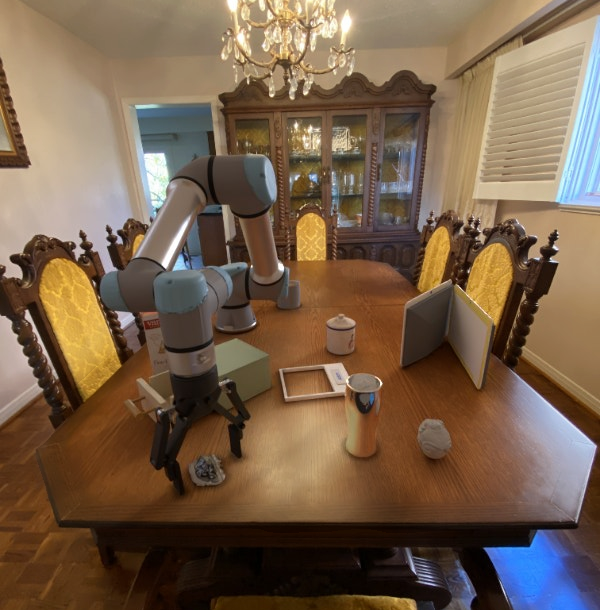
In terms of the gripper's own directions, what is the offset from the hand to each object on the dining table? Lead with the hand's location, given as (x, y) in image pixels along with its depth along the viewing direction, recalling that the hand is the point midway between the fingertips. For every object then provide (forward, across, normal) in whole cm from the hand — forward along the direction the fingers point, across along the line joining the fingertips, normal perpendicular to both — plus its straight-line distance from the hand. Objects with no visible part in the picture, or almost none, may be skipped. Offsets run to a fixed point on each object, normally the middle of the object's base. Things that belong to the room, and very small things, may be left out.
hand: (209, 471), depth 64 cm
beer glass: (0, +25, -16) cm, 30 cm away
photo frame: (0, +36, +7) cm, 37 cm away
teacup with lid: (0, +57, +16) cm, 59 cm away
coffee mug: (0, +72, +60) cm, 94 cm away
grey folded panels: (0, +70, -8) cm, 71 cm away
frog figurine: (0, +33, -27) cm, 42 cm away
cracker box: (0, +12, +35) cm, 37 cm away
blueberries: (0, 0, 0) cm, 0 cm away
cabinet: (0, +18, +21) cm, 28 cm away
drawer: (-1, +3, +21) cm, 21 cm away
